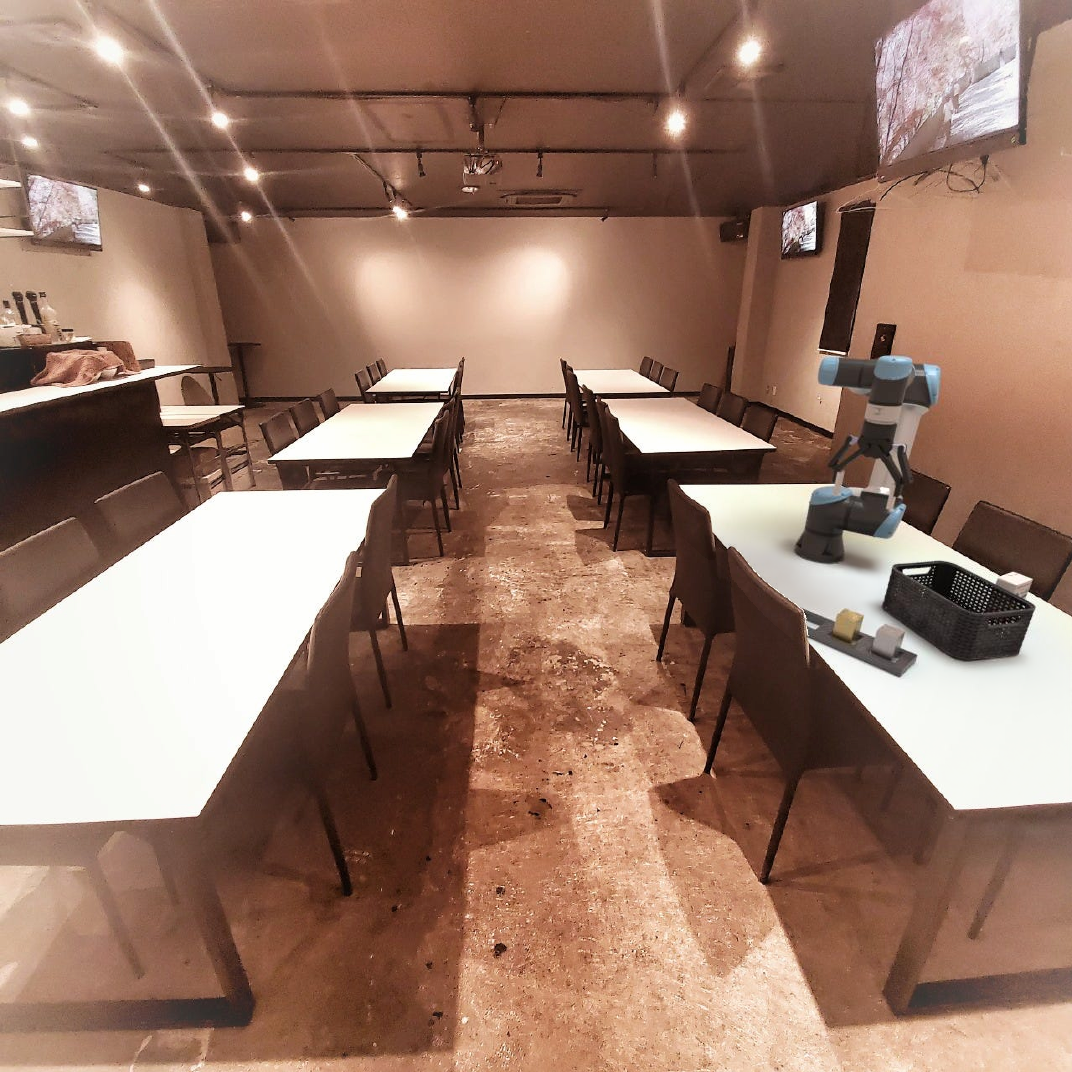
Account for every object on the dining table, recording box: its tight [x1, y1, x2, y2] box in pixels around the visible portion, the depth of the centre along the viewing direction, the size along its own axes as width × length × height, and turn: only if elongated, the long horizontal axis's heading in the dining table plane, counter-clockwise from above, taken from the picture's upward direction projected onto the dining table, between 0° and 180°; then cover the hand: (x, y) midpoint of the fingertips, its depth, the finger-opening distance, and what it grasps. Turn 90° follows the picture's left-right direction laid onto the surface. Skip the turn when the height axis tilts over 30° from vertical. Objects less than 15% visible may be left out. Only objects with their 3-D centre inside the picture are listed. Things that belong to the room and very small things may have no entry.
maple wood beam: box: [832, 608, 865, 645], centre depth 148 cm, size 5×5×8 cm
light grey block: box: [870, 623, 906, 663], centre depth 142 cm, size 5×5×8 cm
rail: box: [801, 607, 918, 678], centre depth 149 cm, size 30×9×2 cm, turn 40°
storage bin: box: [881, 560, 1037, 661], centre depth 154 cm, size 29×19×13 cm
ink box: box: [988, 571, 1034, 621], centre depth 160 cm, size 9×5×12 cm, turn 118°
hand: (861, 501), depth 155 cm, fingers open, 13 cm apart
